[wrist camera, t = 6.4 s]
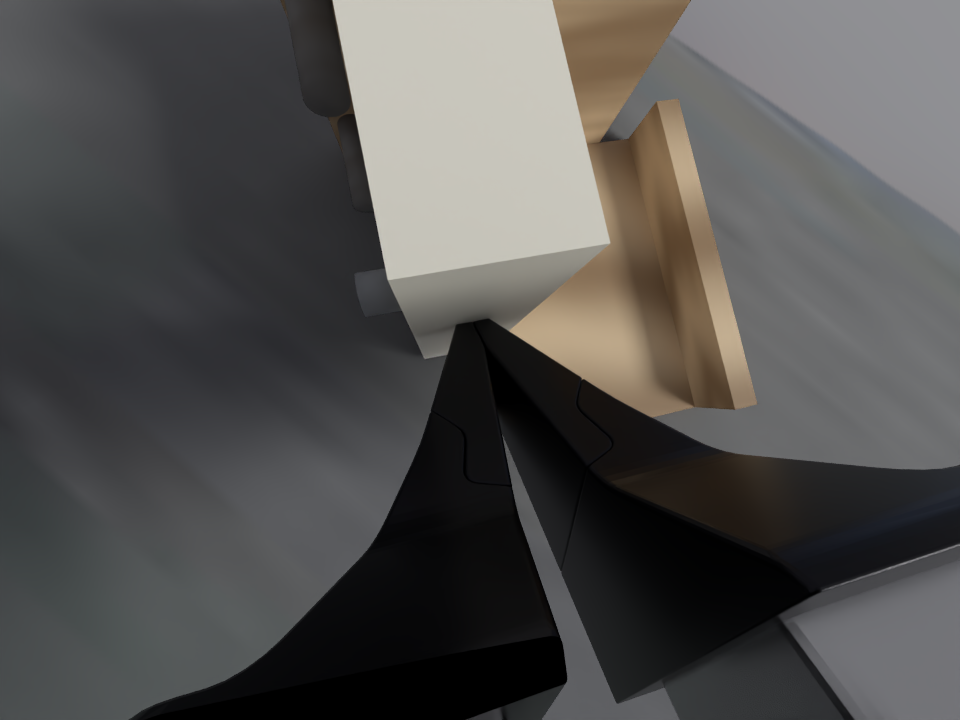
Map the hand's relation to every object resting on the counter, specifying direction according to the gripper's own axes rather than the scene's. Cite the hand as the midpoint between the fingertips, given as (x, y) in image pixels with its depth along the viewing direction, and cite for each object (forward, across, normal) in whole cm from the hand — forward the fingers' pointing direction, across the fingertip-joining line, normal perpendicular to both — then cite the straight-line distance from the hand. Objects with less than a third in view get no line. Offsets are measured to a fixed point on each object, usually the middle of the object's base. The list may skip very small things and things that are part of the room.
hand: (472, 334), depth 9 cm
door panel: (+8, 0, +2) cm, 8 cm away
